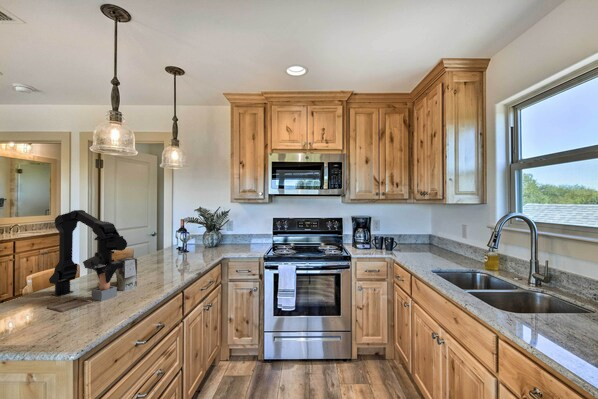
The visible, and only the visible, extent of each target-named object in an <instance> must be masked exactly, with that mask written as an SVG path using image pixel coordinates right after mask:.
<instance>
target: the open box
mask: <svg viewBox="0 0 598 399" xmlns="http://www.w3.org/2000/svg"><path fill="white" fill-rule="evenodd" d="M117 292H118V288H117V286H113V285H110V289H107V290H104V291H100V290H99V287H97V288H94V289H91V300H92V301H93V300H94V301H99V302H103V301H106V300H110V299H112V298H115V297H117V296H118V293H117Z"/></svg>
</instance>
